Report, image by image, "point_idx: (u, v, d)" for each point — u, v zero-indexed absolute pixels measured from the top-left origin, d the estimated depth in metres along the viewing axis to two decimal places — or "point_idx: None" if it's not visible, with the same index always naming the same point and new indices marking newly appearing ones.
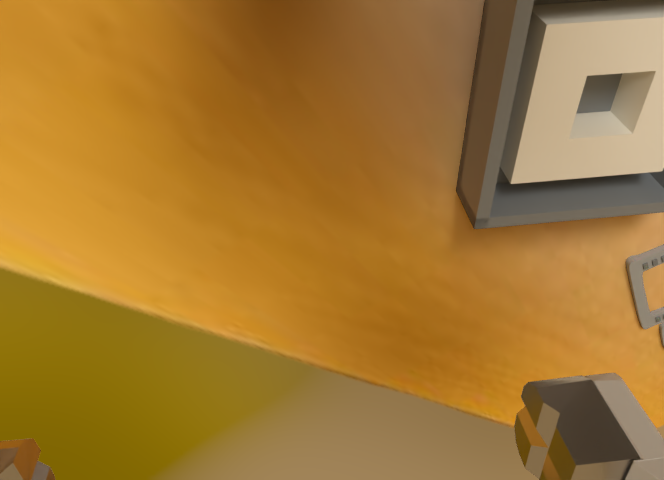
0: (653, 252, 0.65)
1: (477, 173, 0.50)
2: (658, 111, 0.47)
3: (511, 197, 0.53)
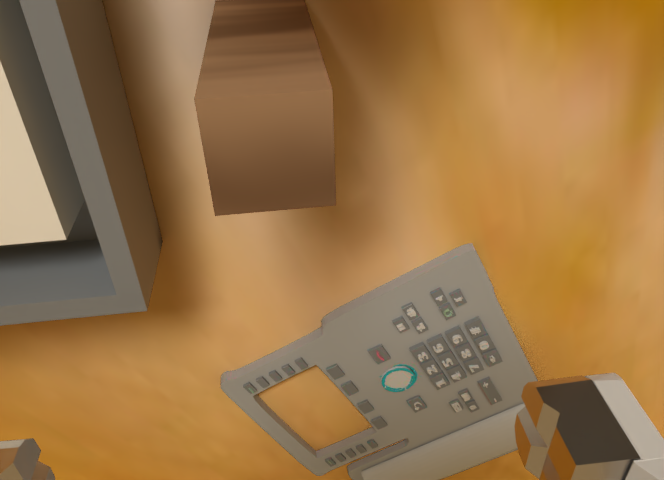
0: (255, 366, 0.40)
1: None
2: None
3: None
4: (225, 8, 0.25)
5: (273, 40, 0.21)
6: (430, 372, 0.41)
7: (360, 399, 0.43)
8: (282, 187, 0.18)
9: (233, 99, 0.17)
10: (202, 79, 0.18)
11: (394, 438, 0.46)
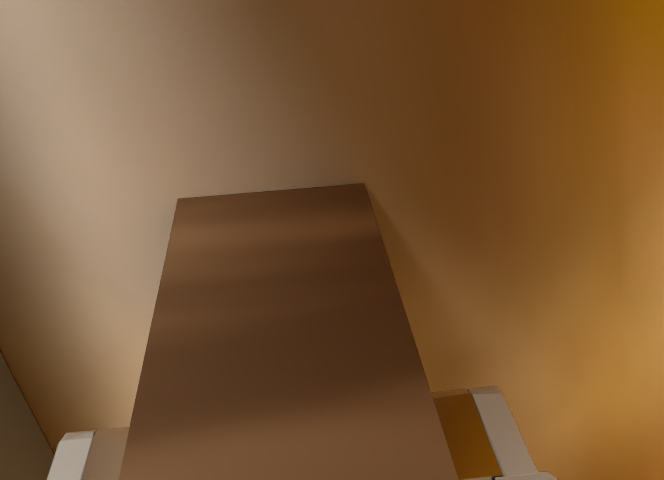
0: None
1: None
2: None
3: None
4: (195, 239, 0.11)
5: (321, 477, 0.07)
6: None
7: None
8: None
9: None
10: None
11: None
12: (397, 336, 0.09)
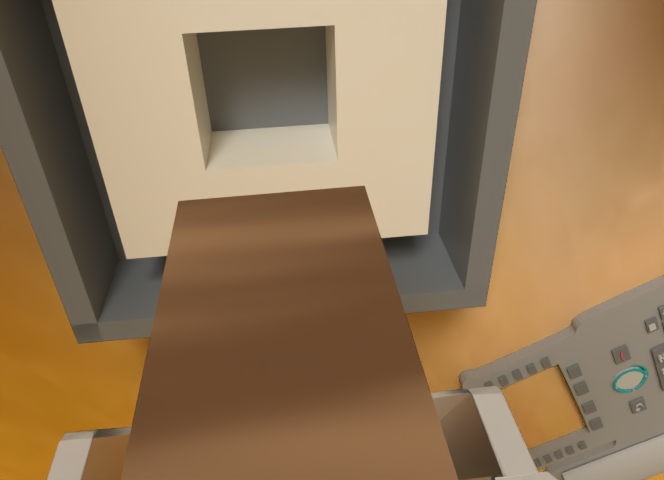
0: (499, 364, 0.40)
1: None
2: (375, 114, 0.23)
3: None
4: (196, 241, 0.11)
5: None
6: None
7: (586, 400, 0.43)
8: None
9: None
10: None
11: (604, 440, 0.46)
12: (397, 338, 0.09)
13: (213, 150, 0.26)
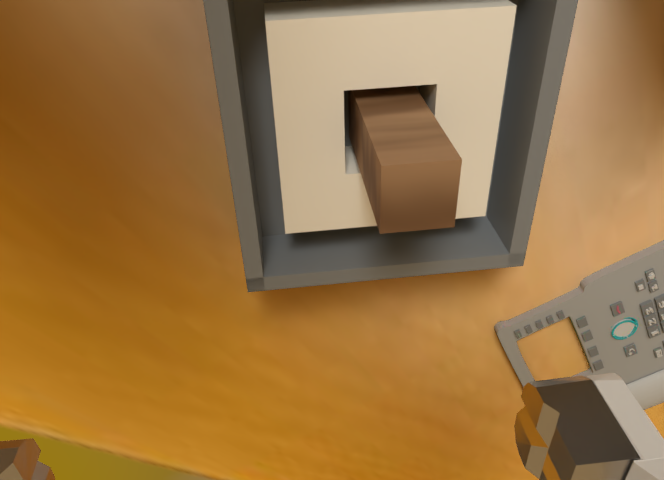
0: (525, 316, 0.53)
1: None
2: (457, 138, 0.36)
3: (303, 250, 0.42)
4: None
5: (407, 119, 0.32)
6: (650, 323, 0.54)
7: (591, 345, 0.56)
8: (423, 216, 0.30)
9: (403, 166, 0.28)
10: (377, 150, 0.29)
11: None
12: (421, 102, 0.34)
13: (344, 160, 0.38)
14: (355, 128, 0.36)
